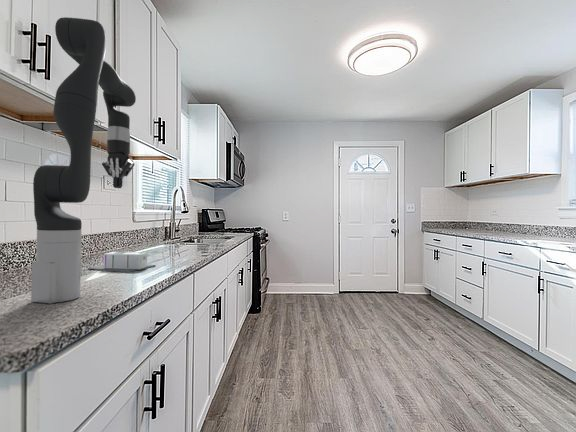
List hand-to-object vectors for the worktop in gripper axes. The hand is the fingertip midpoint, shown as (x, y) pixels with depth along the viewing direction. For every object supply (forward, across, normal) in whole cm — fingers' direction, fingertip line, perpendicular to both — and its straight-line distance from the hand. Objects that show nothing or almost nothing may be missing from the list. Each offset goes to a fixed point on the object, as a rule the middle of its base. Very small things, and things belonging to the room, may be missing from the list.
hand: (117, 187), depth 122 cm
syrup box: (+28, +6, +8) cm, 29 cm away
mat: (+31, -5, +9) cm, 33 cm away
